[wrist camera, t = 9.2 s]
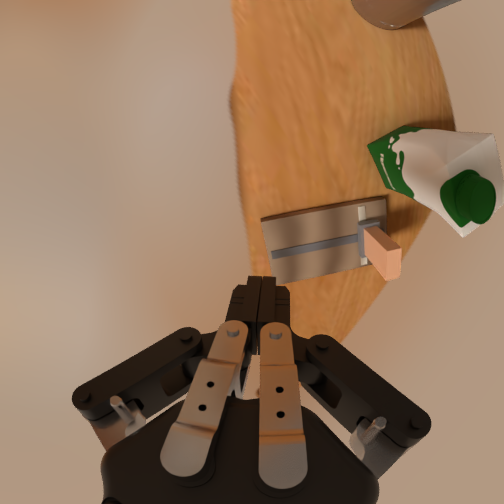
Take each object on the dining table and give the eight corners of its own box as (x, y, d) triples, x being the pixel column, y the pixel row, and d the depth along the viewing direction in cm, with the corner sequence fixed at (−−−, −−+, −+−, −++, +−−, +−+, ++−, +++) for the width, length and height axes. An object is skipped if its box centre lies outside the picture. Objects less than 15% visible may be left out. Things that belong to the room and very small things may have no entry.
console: (273, 280, 42) (274, 286, 40) (260, 218, 38) (261, 222, 36) (382, 256, 40) (387, 261, 39) (381, 196, 36) (386, 199, 35)
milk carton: (358, 142, 33) (455, 165, 15) (405, 117, 31) (510, 127, 13) (383, 196, 36) (473, 256, 18) (426, 169, 34) (523, 211, 16)
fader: (358, 254, 38) (382, 285, 30) (357, 222, 36) (383, 248, 28) (376, 250, 38) (403, 279, 30) (376, 218, 36) (405, 243, 28)
